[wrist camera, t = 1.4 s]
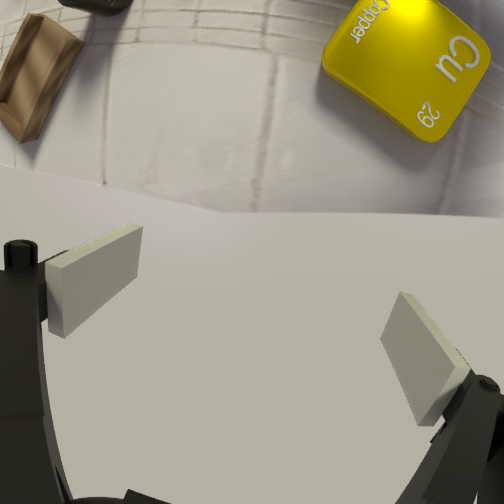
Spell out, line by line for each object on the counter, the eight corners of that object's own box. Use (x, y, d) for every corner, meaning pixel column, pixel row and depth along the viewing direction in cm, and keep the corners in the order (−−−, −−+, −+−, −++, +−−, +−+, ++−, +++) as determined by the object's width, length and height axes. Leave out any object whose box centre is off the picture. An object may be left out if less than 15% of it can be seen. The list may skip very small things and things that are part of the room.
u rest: (44, 15, 31) (28, 12, 28) (84, 43, 33) (67, 40, 29) (3, 103, 39) (-12, 105, 35) (37, 139, 40) (20, 143, 37)
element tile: (378, -22, 24) (385, -38, 20) (481, 56, 25) (499, 52, 21) (314, 68, 31) (313, 61, 27) (422, 146, 32) (436, 152, 28)
